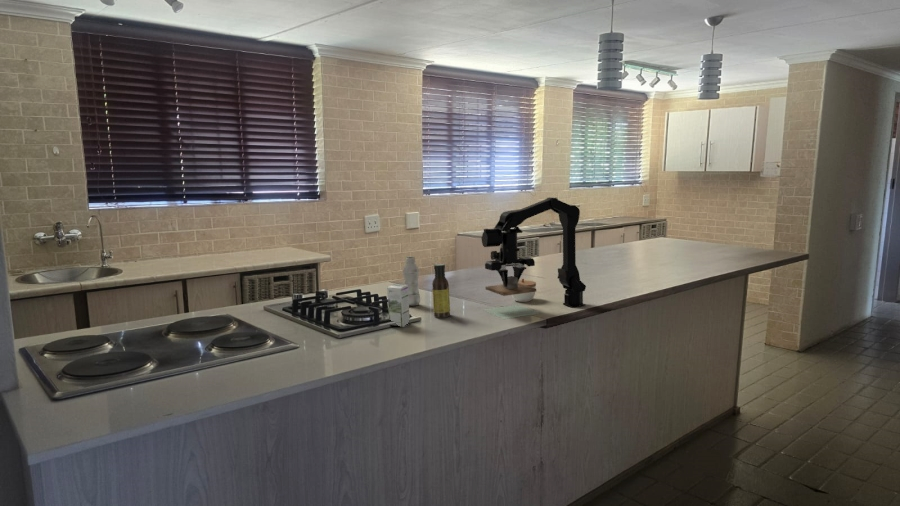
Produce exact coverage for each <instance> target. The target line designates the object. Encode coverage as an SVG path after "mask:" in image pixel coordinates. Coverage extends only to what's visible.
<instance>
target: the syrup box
mask: <svg viewBox="0 0 900 506" xmlns="http://www.w3.org/2000/svg"><path fill="white" fill-rule="evenodd" d="M386 289H387V290H386V291H387V305H388V308H387V310H388V321H389V320H391V321H394V322H395V323H396V324H397V325H398V326H400V327H399V328H404V327H406V326H407V325H406V324H408V322H409V320H410V319H411V317H410V316H411V315H410V306H409V294H408V285H405V284H391V285H389V286H387V288H386ZM405 325H406V326H405ZM408 325H409V324H408Z"/></svg>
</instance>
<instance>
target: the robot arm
mask: <svg viewBox="0 0 900 506" xmlns="http://www.w3.org/2000/svg"><path fill="white" fill-rule="evenodd" d="M550 210H552V211H553V212H554V213H556V214H557V215H558V219H559V223H560V224H561V227H562V265H561V267H559V268H557V273H558V274H557V279H558V281H559V283H560V284H561V285H562V287H563V289H565V290H564V292H565V293H564V294H563V295H564V301H563V303H562V305H564V306H567V307H570V308H576V307H577V306H578V307H583V306H586V303H584V297H583V296H584V292H585V291H586V288H587V286H586V284H585V283H584V282H582V281H581V278H580V277H581V276H580V271H579V269H578V267H577V264H576V254H577V253H576V228H577V225H578V223H579V221H580V217H581V216H580V214H581V211H580V208H579V207H578V206H577V205H573V204H569V203H567V202H563V201H561V200H559V199H557V198H556V197H551V196H550V197H547V198H545V199H543V200H541V201H537V202H536V203H533V204H530V205H528V206H526V207H522V208H520V209H513V210H507V211H503V212H502V213H500V215H499V220H498V221H497V223H496V224H495V225H494V227H493V228H483V232H482V235H481V245H482V246H483V248H490V247H491V248H492V247H499V248H500V249H499V252H498V251H497V250H493V251H492V250H491V251H490V259H491V260H487V261H486V262H485V263H484V268H485V269H486V270H488V271H496V272H497V273H498V274H499V276H500V279H501V282H502V285H503V284H504V286H505V287H507V278H508V277H509V275H508V274H509V270H508V269H506V268H507V267H512V269H513V276H514V277H517V278H518V281H520V279H521V278H522V277H521V276H522V275H523V273H524V271H525V270H527V267H534V266H535V263H536V262H535V259H534V258H532V257H528V256H524V257H519V256H518V253H519V251H520V248H519V247H518V234H522V233H524V231H523V230H522V229H521V228H520V227H519V226H520V225H521V224H522V223H524V222H525V221H526V220H527V219H530V218H533V217H534V216H537V215H540V214H543V213H544V212H547V211H550ZM500 246H501V247H500ZM525 265H526V266H527V267H526V266H525Z"/></svg>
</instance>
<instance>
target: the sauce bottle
mask: <svg viewBox="0 0 900 506" xmlns="http://www.w3.org/2000/svg"><path fill="white" fill-rule="evenodd" d="M445 268H446V265H445V264H444V263H437V264H434V265H433V269H434V278H433V280H432V283H431V284H432V289H431V290H432V305H433V307H432V308H433V317H434V318H435V319H436V318H437V319H442V318H448V317H449V316H451V313H450V311H451V305H450V304H451V302H450V301H451V300H450V285H449V280H448V279H447V278H446V271H445V270H446V269H445Z"/></svg>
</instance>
